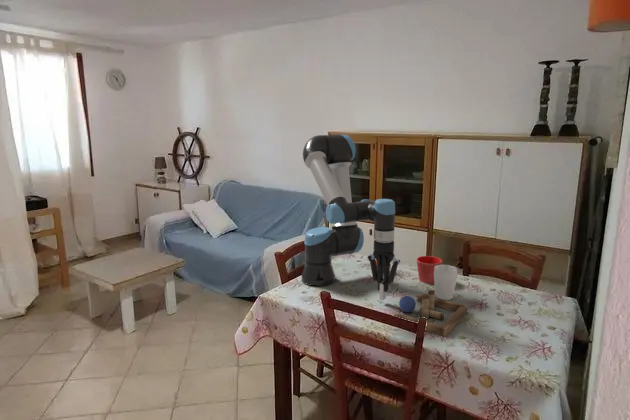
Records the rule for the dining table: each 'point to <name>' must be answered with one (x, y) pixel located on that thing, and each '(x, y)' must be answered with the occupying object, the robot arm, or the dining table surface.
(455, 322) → the tray
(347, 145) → the robot arm
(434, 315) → the pin front
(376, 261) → the pomegranate
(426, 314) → the pin
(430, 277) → the flower pot
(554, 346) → the dining table surface
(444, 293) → the cup
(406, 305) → the ball
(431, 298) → the pin
